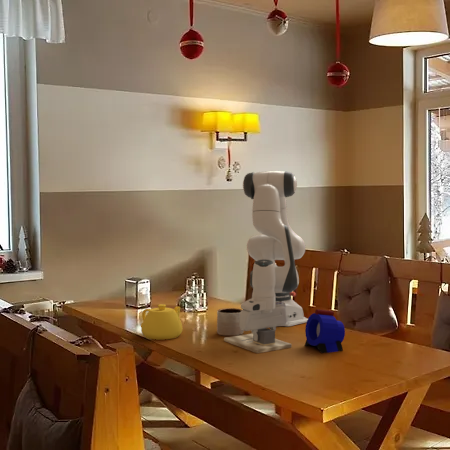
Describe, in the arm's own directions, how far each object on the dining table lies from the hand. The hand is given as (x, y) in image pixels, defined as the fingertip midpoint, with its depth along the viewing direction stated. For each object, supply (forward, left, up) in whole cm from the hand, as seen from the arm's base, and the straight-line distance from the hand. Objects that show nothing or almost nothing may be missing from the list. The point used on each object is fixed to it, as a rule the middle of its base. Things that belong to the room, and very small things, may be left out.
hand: (263, 339), depth 244 cm
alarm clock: (-18, +15, -3) cm, 23 cm away
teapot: (+23, -38, -3) cm, 45 cm away
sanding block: (0, 0, -1) cm, 1 cm away
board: (0, -4, -3) cm, 5 cm away
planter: (-1, -24, -3) cm, 24 cm away
